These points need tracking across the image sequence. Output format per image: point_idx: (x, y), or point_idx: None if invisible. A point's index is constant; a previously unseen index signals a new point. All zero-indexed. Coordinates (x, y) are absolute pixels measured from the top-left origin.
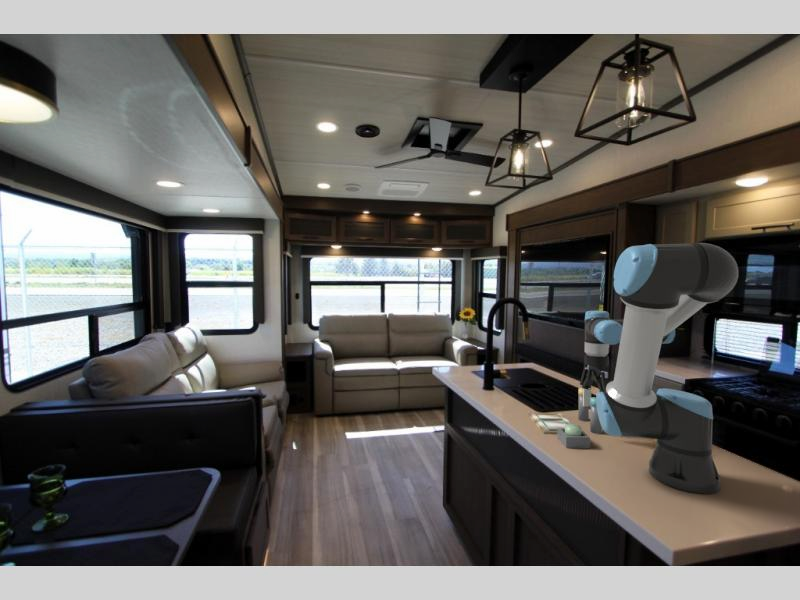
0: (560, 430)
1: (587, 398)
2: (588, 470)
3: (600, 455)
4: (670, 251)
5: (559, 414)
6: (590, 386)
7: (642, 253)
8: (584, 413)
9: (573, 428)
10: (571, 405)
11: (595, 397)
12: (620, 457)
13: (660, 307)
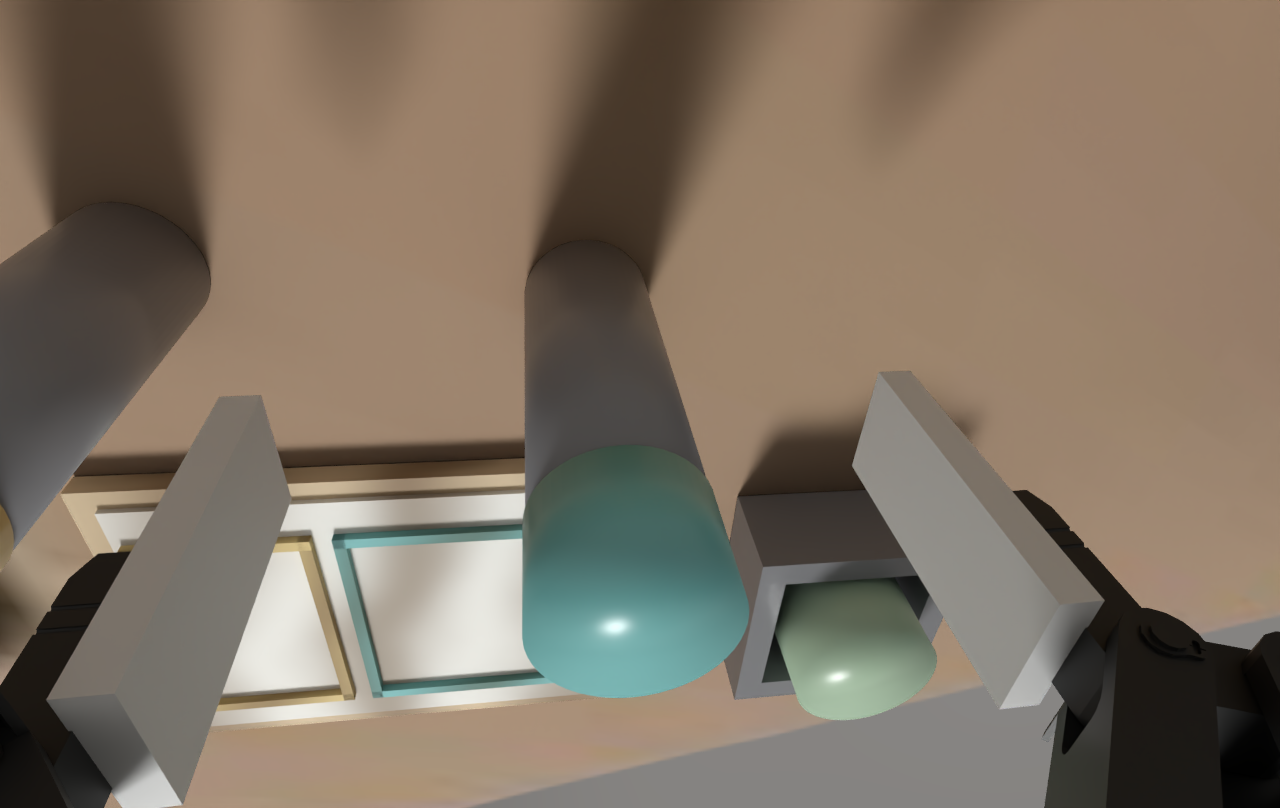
0: (785, 690)
1: (233, 561)
2: (1167, 584)
3: (1049, 462)
4: None
5: (120, 524)
6: (63, 793)
7: None
8: (167, 338)
9: (904, 684)
10: None
11: (542, 617)
12: (1136, 342)
13: None
